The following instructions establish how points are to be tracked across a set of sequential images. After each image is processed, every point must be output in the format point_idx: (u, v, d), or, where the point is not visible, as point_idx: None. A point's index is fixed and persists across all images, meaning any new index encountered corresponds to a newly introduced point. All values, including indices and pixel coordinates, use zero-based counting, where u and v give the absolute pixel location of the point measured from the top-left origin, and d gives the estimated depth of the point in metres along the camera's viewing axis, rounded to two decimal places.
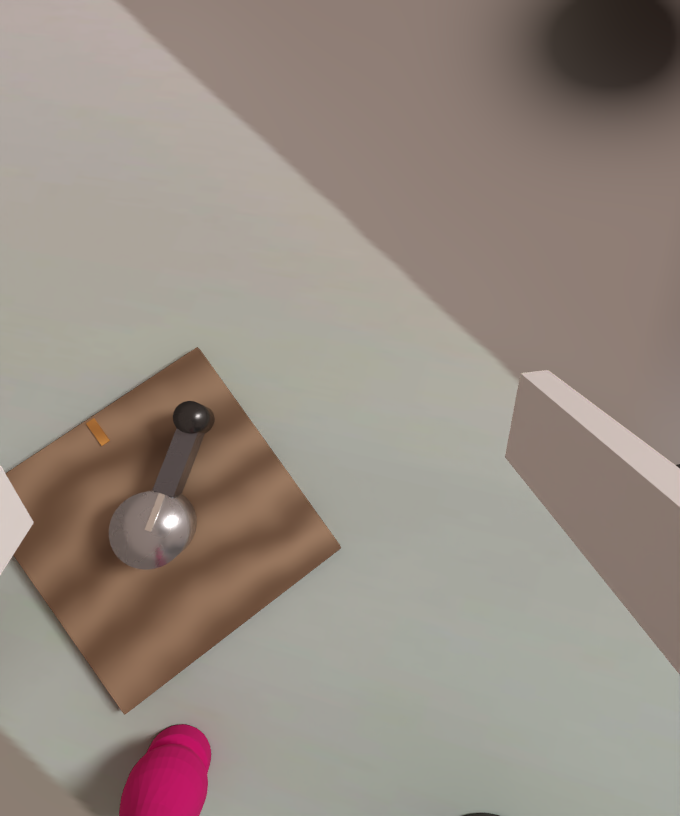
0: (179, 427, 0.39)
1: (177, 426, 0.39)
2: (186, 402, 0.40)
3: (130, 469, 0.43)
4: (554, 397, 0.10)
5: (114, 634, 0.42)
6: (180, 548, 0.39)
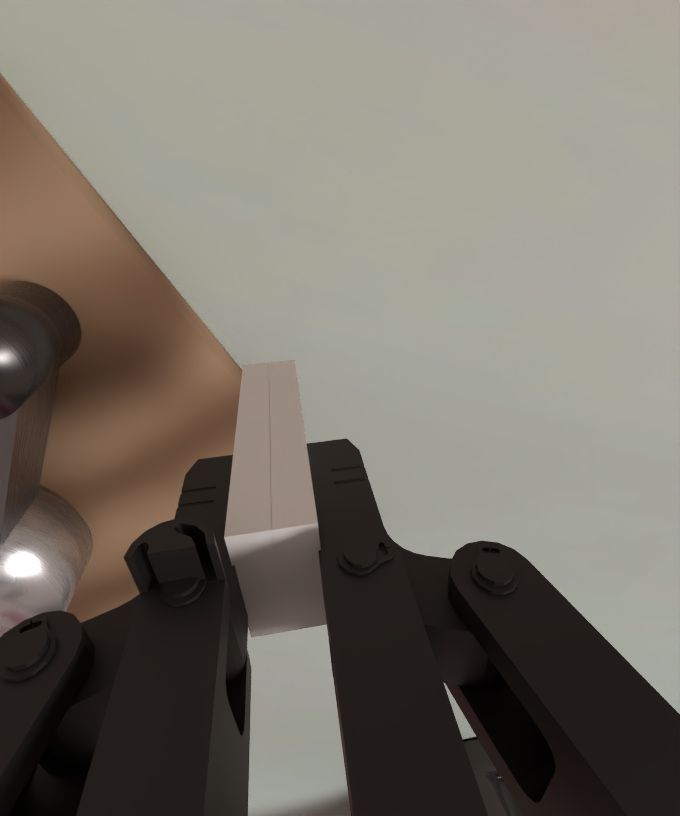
0: None
1: None
2: None
3: None
4: (272, 382, 0.11)
5: None
6: None
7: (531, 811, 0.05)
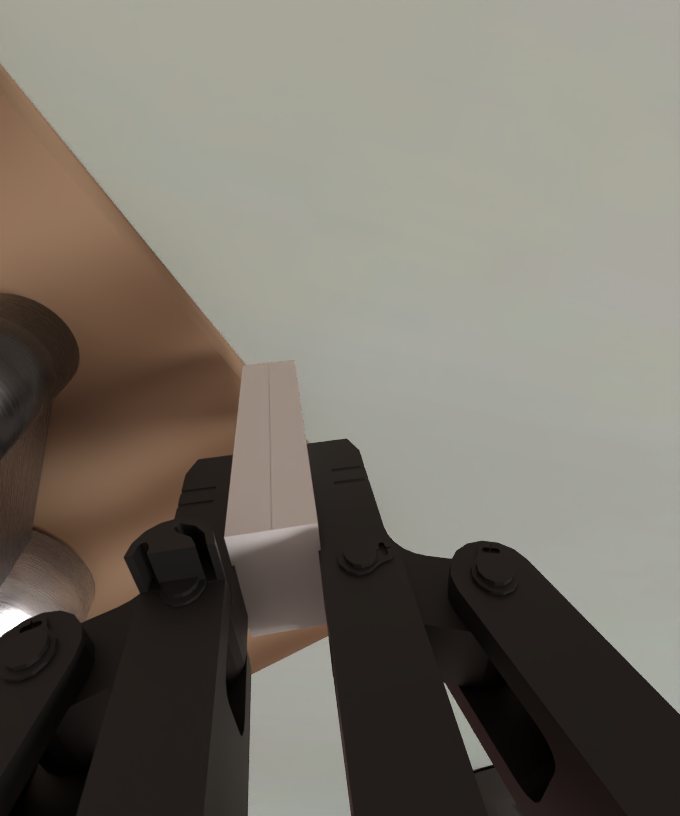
0: None
1: None
2: None
3: None
4: (272, 382, 0.11)
5: None
6: None
7: (531, 811, 0.05)
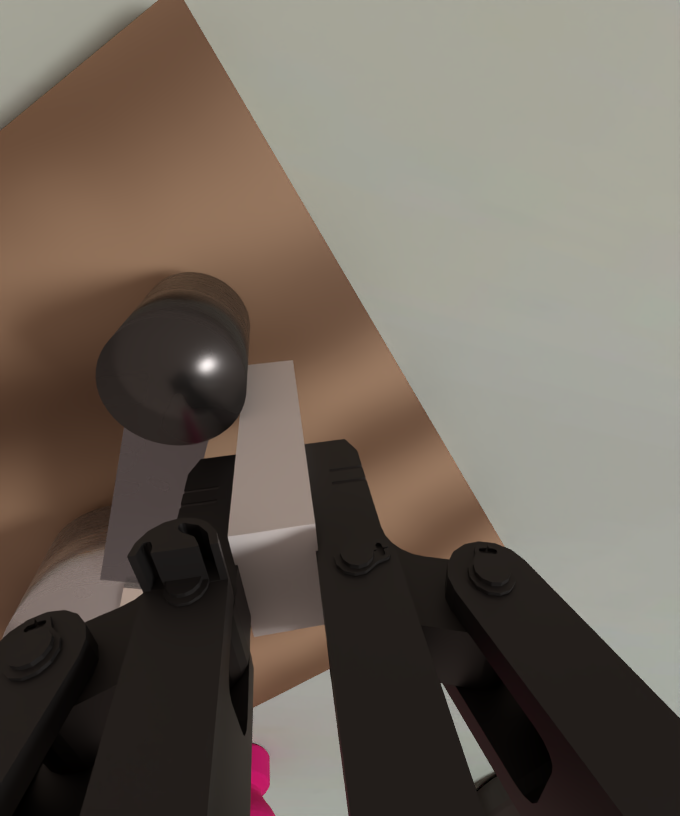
0: (140, 429, 0.09)
1: (130, 425, 0.09)
2: (145, 325, 0.08)
3: (22, 455, 0.15)
4: (270, 383, 0.11)
5: None
6: None
7: (528, 811, 0.05)
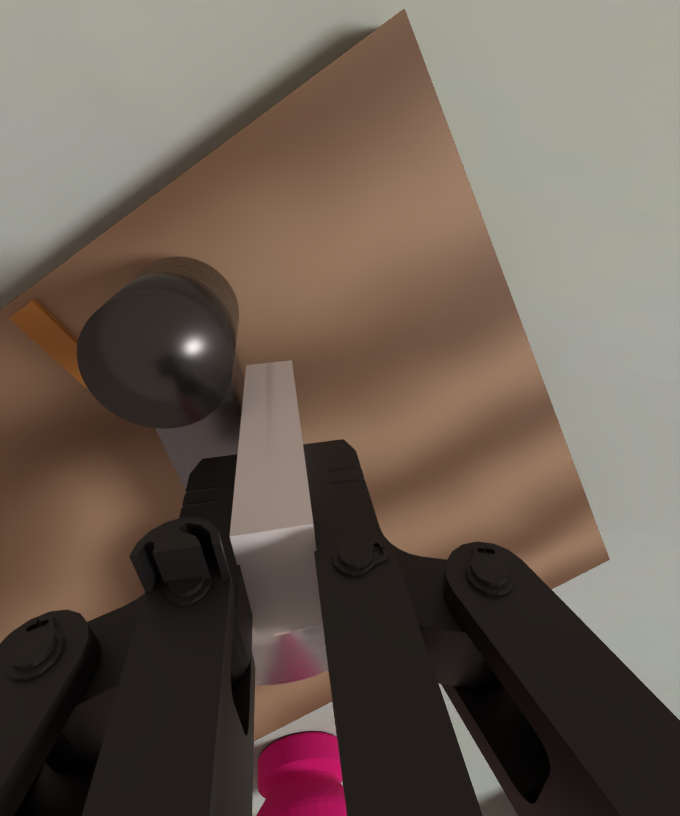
0: (156, 421, 0.09)
1: (147, 422, 0.09)
2: (96, 320, 0.08)
3: None
4: (269, 382, 0.11)
5: None
6: None
7: (527, 812, 0.05)
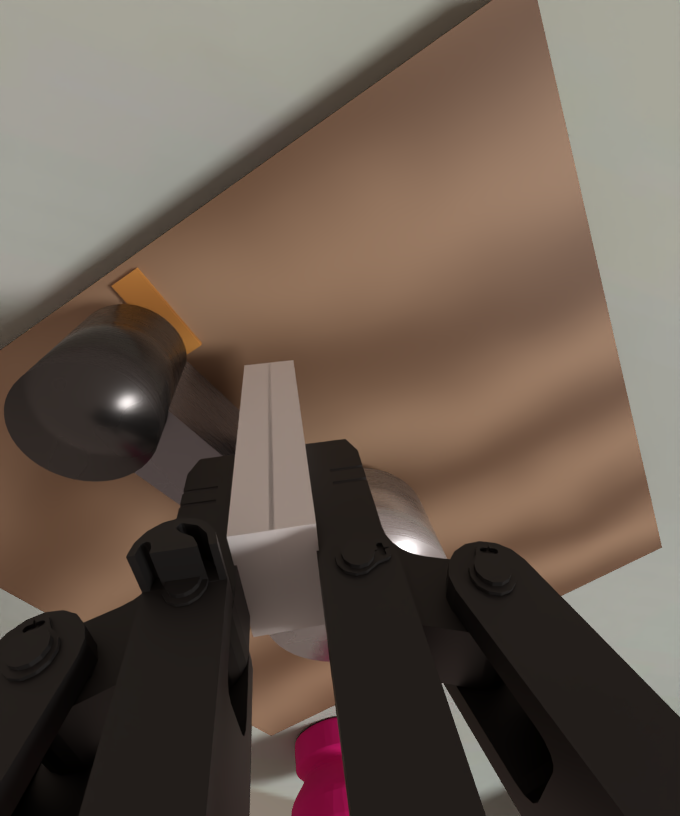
0: (116, 472, 0.10)
1: (108, 476, 0.10)
2: (11, 410, 0.09)
3: None
4: (271, 382, 0.11)
5: None
6: None
7: (529, 811, 0.05)
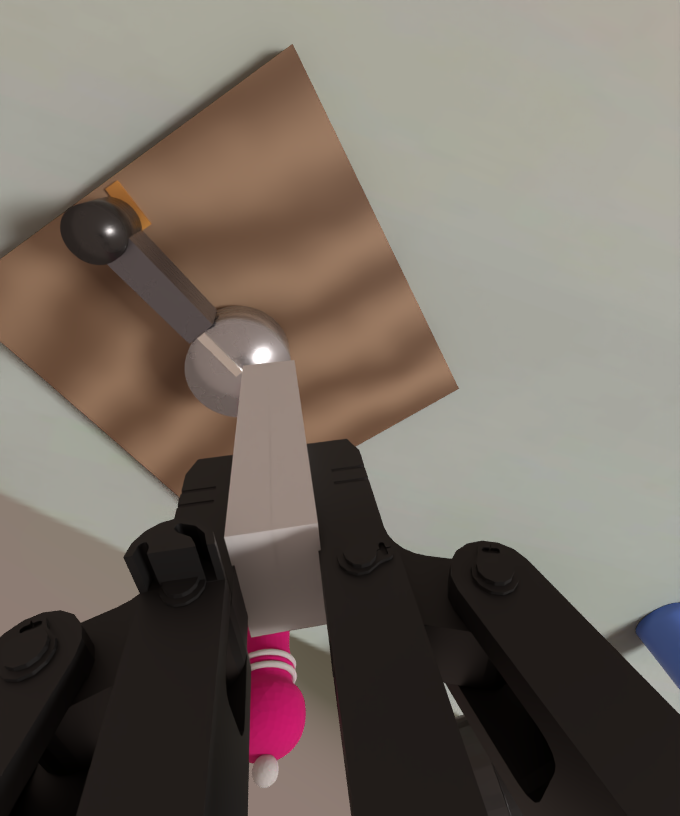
0: (105, 260, 0.23)
1: (102, 262, 0.23)
2: (62, 225, 0.22)
3: (189, 273, 0.29)
4: (272, 382, 0.11)
5: (193, 463, 0.36)
6: (284, 350, 0.28)
7: (531, 811, 0.05)
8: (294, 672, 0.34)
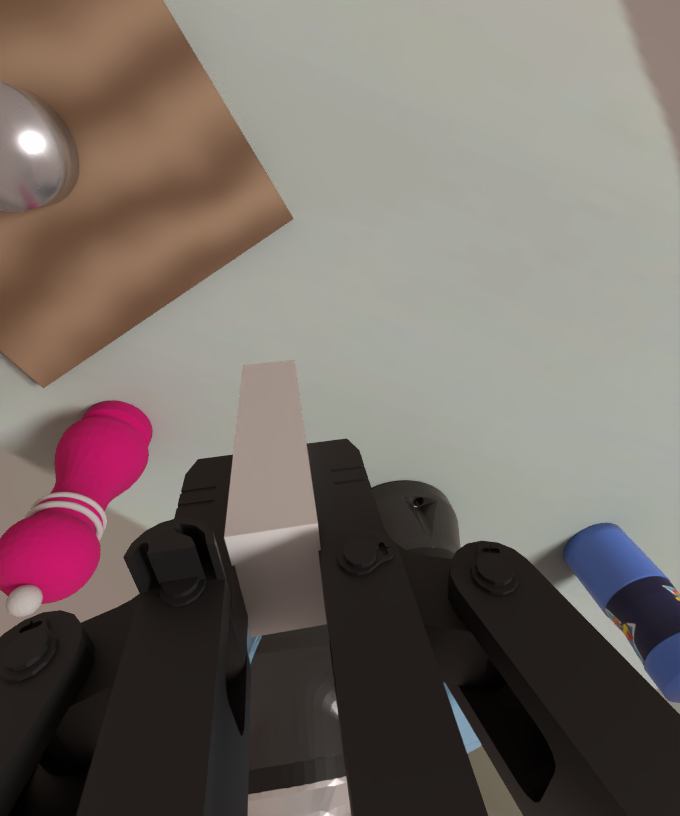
0: None
1: None
2: None
3: None
4: (272, 382, 0.11)
5: (1, 302, 0.33)
6: (38, 119, 0.25)
7: (531, 811, 0.05)
8: (95, 518, 0.30)
